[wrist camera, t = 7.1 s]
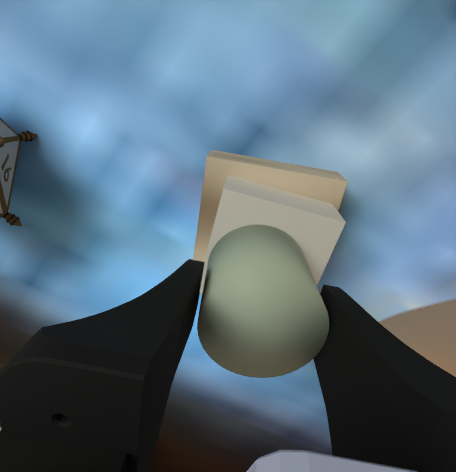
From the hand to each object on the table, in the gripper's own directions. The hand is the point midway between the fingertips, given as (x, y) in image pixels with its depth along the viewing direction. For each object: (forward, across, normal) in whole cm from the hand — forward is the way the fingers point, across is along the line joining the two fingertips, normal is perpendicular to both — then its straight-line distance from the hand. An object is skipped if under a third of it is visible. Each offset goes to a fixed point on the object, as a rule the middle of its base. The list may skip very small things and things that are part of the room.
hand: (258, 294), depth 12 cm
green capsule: (+2, 0, 0) cm, 2 cm away
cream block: (+5, 0, 0) cm, 5 cm away
